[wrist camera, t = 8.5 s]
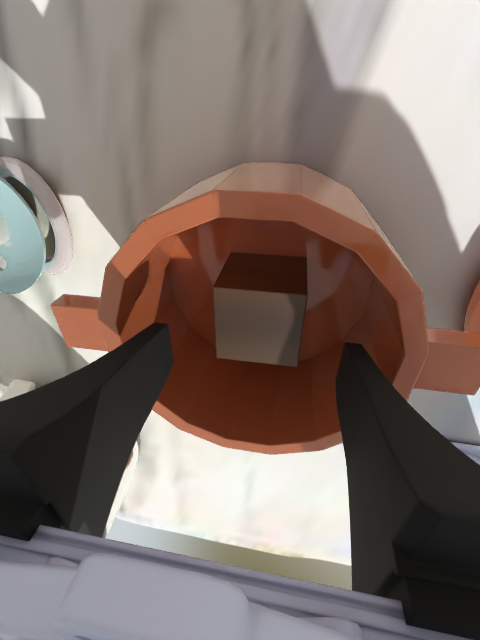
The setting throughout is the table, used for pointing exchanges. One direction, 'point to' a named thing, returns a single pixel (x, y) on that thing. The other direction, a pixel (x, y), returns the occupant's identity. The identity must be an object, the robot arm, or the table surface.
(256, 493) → the table surface
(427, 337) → the pot
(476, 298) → the lid
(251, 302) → the block
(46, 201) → the pacifier
